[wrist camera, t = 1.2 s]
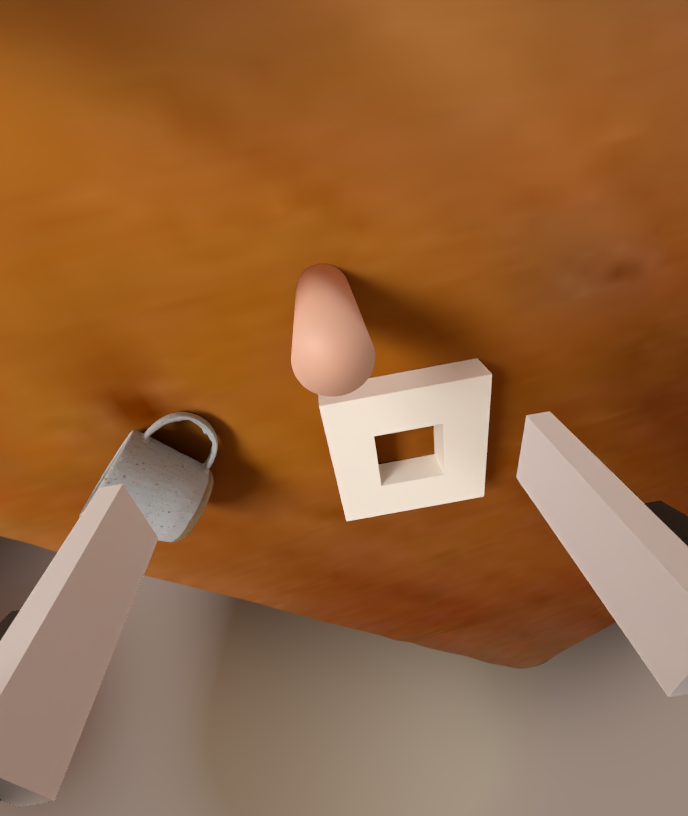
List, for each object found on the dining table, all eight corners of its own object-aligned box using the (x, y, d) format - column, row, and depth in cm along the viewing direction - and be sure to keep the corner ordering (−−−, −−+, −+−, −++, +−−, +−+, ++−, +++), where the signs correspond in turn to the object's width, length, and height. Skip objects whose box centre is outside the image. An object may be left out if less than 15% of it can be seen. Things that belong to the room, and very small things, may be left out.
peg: (290, 269, 27) (281, 328, 16) (345, 258, 26) (369, 311, 16) (302, 321, 29) (301, 403, 19) (353, 312, 29) (379, 388, 19)
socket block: (318, 387, 32) (319, 406, 29) (477, 358, 32) (492, 374, 29) (343, 499, 40) (346, 521, 37) (472, 475, 39) (483, 496, 37)
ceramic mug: (189, 502, 38) (166, 568, 31) (106, 468, 35) (62, 535, 28) (243, 432, 34) (230, 492, 28) (156, 387, 31) (118, 442, 24)
